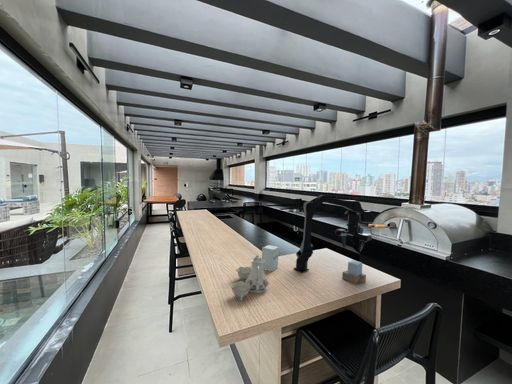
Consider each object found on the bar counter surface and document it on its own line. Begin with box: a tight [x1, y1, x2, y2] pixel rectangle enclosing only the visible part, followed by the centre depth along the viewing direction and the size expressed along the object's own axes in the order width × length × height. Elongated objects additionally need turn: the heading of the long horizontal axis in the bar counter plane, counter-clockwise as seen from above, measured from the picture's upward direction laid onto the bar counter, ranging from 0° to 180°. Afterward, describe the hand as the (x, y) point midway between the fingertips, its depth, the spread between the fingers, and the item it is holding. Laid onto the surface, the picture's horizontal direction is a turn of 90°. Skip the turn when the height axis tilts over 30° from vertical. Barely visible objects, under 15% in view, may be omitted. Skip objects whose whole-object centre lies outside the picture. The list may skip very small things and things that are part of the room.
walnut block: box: [341, 270, 367, 286], centre depth 113 cm, size 8×8×4 cm
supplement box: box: [261, 244, 279, 272], centre depth 125 cm, size 7×7×13 cm
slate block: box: [347, 259, 363, 276], centre depth 113 cm, size 5×5×6 cm
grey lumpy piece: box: [230, 254, 269, 302], centre depth 100 cm, size 28×17×17 cm, turn 3°
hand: (352, 249), depth 124 cm, fingers open, 9 cm apart
